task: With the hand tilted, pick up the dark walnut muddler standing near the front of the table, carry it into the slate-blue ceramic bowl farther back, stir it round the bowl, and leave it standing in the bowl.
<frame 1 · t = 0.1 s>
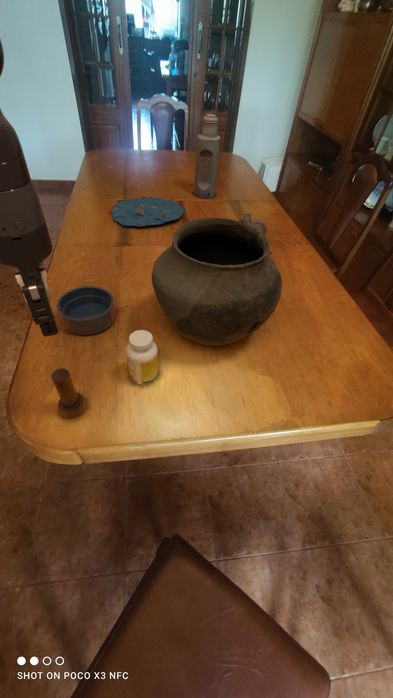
hand: (47, 317, 51), 21 cm above the table, tool pointing down, fingers open, 8 cm apart
bowl: (89, 318, 83), on the table
bottle: (204, 194, 146), on the table
pot: (213, 328, 84), on the table
muddler: (73, 408, 64), on the table
spaceship: (254, 242, 117), on the table
pill bottle: (144, 375, 72), on the table
decorative plate: (146, 214, 128), on the table
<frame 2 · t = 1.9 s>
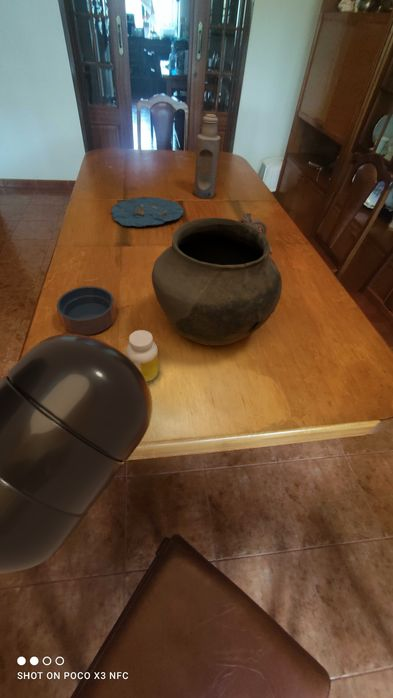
hand: (59, 395, 45), 18 cm above the table, tool tilted 40°, fingers open, 8 cm apart
nothing on the table moved.
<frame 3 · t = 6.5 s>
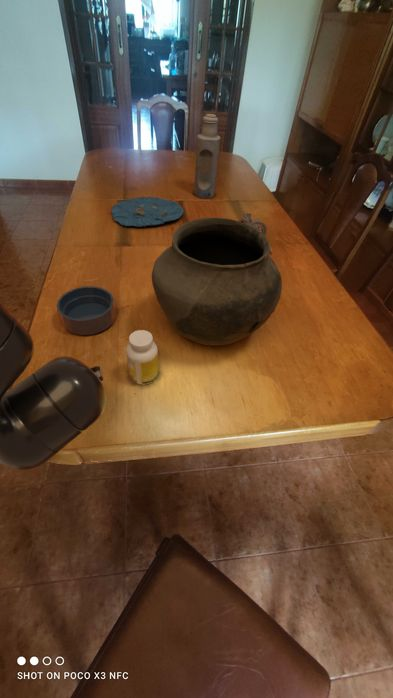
hand: (63, 380, 60), 7 cm above the table, tool tilted 45°, fingers closed on muddler, 3 cm apart
muddler: (73, 408, 64), on the table, touching gripper
everything else where it was.
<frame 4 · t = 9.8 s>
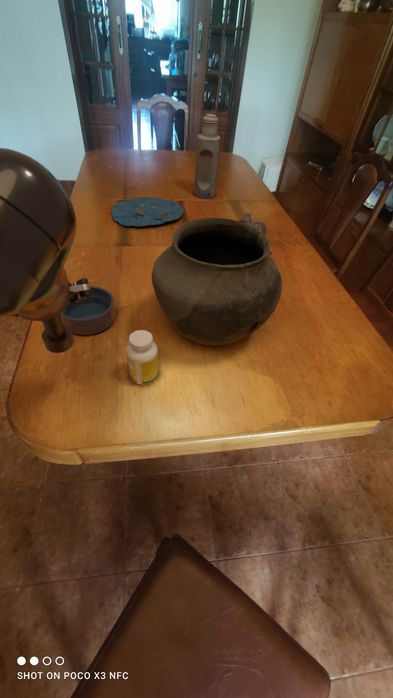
hand: (47, 305, 52), 22 cm above the table, tool tilted 45°, fingers closed on muddler, 3 cm apart
muddler: (60, 343, 56), point 15 cm above the table, touching gripper
everything else where it was.
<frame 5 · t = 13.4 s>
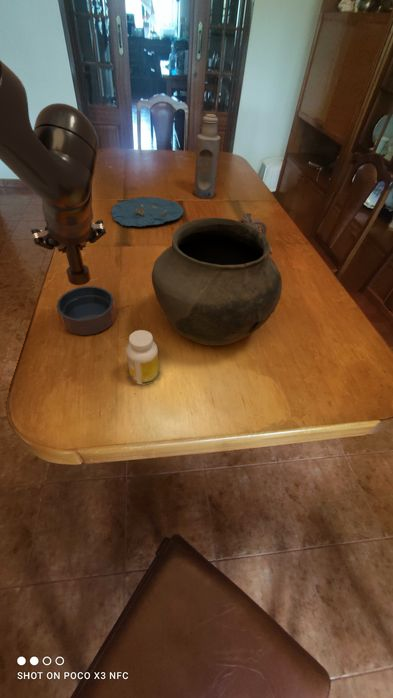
hand: (71, 247, 69), 20 cm above the table, tool tilted 45°, fingers closed on muddler, 3 cm apart
muddler: (79, 279, 73), point 13 cm above the table, touching gripper
everything else where it was.
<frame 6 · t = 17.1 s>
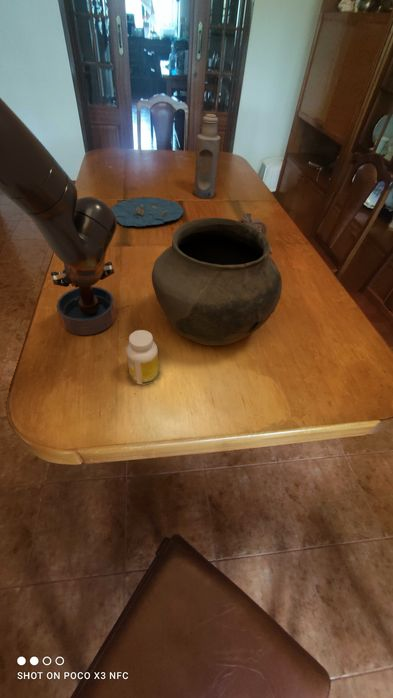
hand: (83, 281, 79), 9 cm above the table, tool tilted 45°, fingers closed on muddler, 3 cm apart
muddler: (89, 308, 82), point 2 cm above the table, touching gripper
everything else where it was.
when the fingers open (8 cm above the table, at t = 20.2 s): muddler stays where it is, resting on bowl.
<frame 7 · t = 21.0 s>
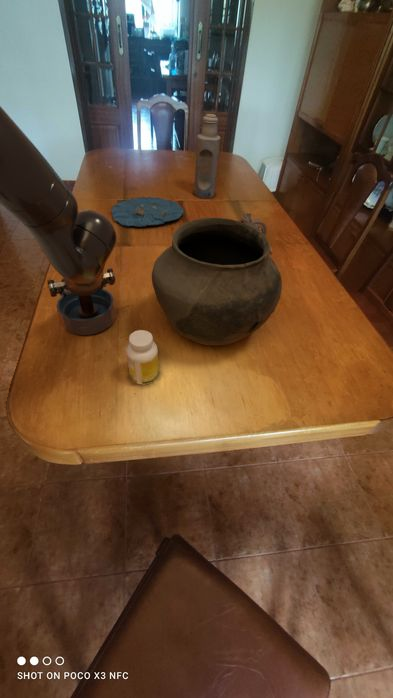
hand: (82, 288, 77), 9 cm above the table, tool tilted 45°, fingers open, 8 cm apart
muddler: (89, 316, 82), point 1 cm above the table, touching bowl
everything else where it was.
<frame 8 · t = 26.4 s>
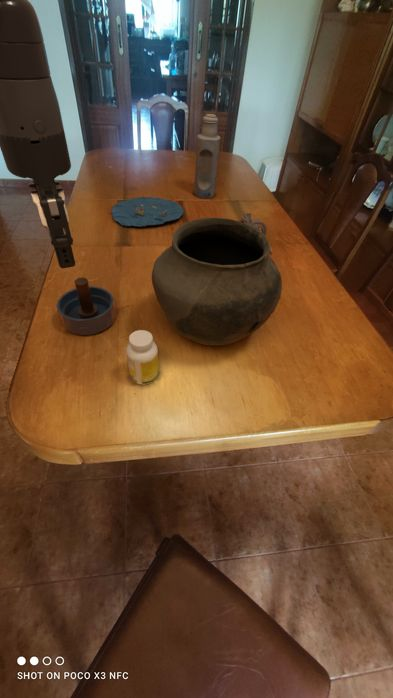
hand: (62, 252, 49), 30 cm above the table, tool pointing down, fingers open, 8 cm apart
nothing on the table moved.
at the end: muddler inside the target area in the bowl (0.1 cm from its centre), point 0.8 cm above the bowl's base; muddler tilted 0°; the gripper is holding nothing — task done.
